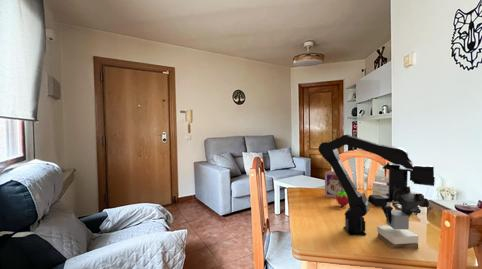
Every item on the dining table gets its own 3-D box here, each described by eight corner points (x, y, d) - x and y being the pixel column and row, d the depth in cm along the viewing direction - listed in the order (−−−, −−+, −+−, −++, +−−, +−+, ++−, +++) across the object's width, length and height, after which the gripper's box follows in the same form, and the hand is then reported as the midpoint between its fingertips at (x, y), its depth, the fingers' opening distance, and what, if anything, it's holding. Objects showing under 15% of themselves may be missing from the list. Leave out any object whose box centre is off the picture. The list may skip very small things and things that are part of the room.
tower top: (394, 244, 81) (394, 237, 81) (377, 232, 90) (377, 225, 90) (418, 242, 82) (418, 235, 81) (399, 231, 91) (399, 224, 90)
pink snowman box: (324, 196, 139) (324, 172, 138) (325, 193, 146) (325, 169, 145) (345, 198, 134) (345, 173, 134) (345, 195, 141) (345, 170, 140)
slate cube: (394, 229, 83) (394, 215, 83) (386, 223, 88) (386, 210, 88) (408, 229, 83) (408, 215, 83) (399, 223, 88) (400, 210, 88)
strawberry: (348, 210, 117) (348, 190, 117) (334, 206, 123) (334, 188, 122) (352, 206, 122) (352, 188, 121) (338, 203, 127) (338, 185, 126)
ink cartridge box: (372, 203, 126) (372, 176, 125) (374, 201, 130) (374, 175, 129) (390, 207, 120) (390, 179, 119) (392, 204, 124) (392, 177, 123)
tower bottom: (391, 250, 82) (391, 243, 81) (377, 237, 91) (378, 231, 90) (418, 250, 81) (418, 243, 81) (401, 237, 90) (401, 231, 90)
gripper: (383, 188, 77) (383, 233, 78) (442, 188, 76) (441, 234, 77) (367, 179, 88) (367, 219, 89) (418, 179, 87) (417, 220, 88)
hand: (397, 223), depth 86 cm, fingers closed on slate cube, 5 cm apart
